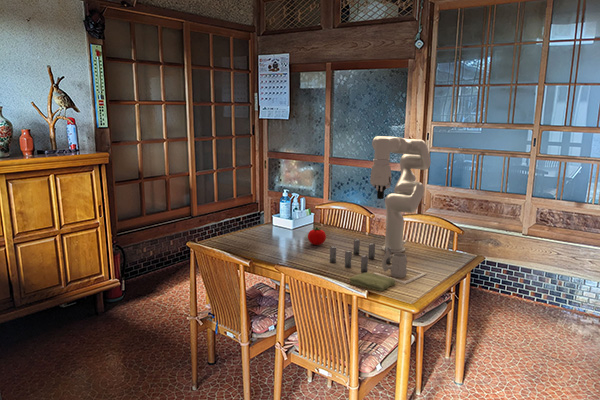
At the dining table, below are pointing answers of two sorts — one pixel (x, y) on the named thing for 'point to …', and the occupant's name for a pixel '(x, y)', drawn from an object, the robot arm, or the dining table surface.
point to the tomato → (316, 236)
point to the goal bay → (408, 279)
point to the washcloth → (372, 281)
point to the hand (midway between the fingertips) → (380, 198)
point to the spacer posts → (356, 252)
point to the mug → (396, 264)
